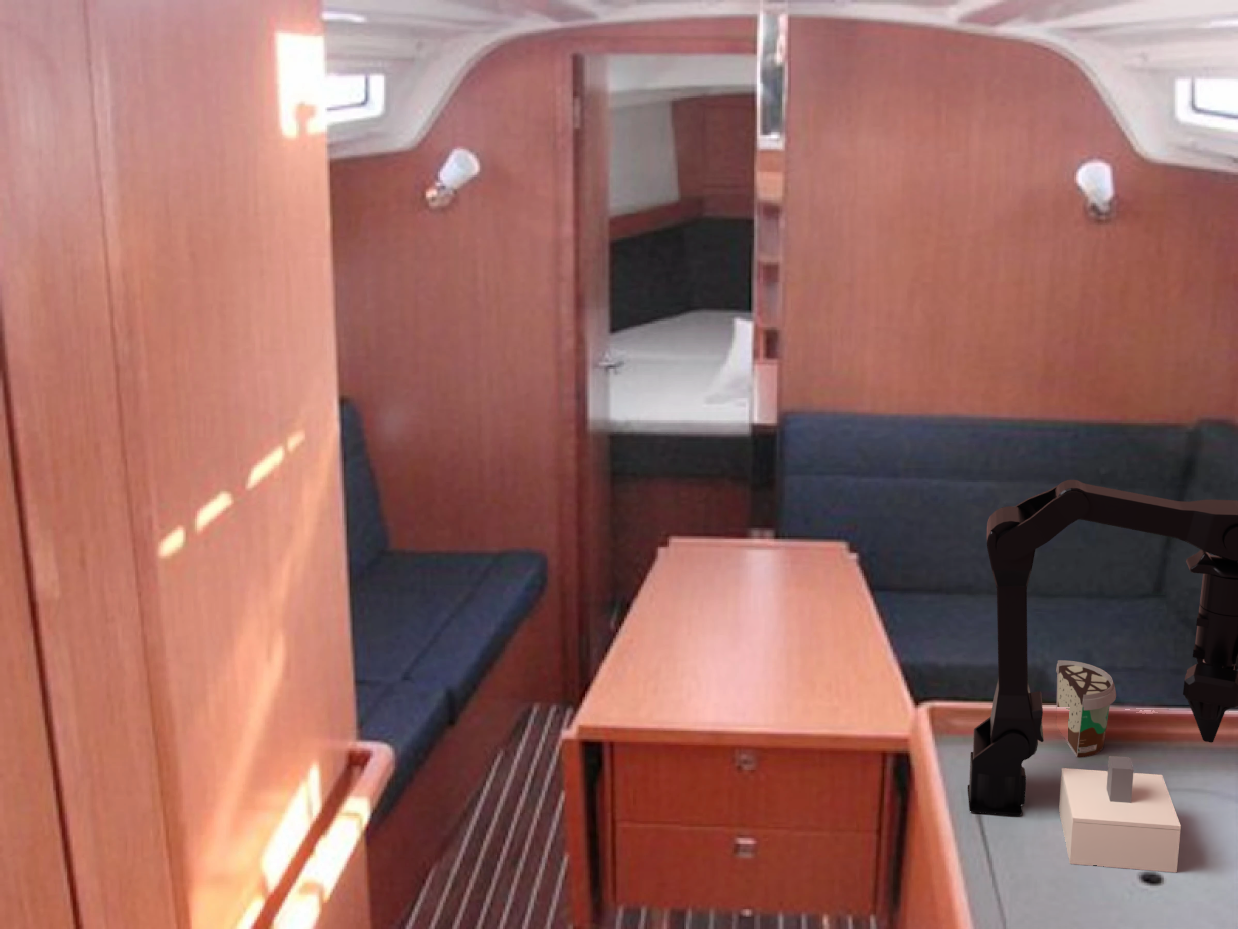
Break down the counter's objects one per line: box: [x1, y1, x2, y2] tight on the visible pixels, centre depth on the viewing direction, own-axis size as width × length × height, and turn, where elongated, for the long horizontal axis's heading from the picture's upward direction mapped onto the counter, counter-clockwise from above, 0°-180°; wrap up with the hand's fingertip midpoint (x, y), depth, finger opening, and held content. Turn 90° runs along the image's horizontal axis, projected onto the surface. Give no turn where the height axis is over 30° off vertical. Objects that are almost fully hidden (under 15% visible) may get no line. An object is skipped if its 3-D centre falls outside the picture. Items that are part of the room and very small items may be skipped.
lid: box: [1061, 755, 1182, 831], centre depth 158 cm, size 12×12×5 cm
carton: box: [1058, 771, 1181, 873], centre depth 160 cm, size 12×12×6 cm
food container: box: [1055, 659, 1117, 759], centre depth 184 cm, size 12×6×10 cm, turn 179°
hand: (1211, 725), depth 160 cm, fingers open, 9 cm apart
